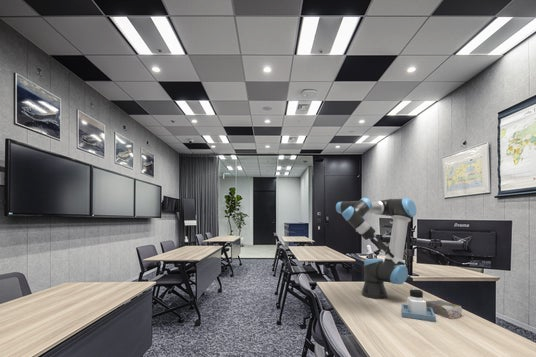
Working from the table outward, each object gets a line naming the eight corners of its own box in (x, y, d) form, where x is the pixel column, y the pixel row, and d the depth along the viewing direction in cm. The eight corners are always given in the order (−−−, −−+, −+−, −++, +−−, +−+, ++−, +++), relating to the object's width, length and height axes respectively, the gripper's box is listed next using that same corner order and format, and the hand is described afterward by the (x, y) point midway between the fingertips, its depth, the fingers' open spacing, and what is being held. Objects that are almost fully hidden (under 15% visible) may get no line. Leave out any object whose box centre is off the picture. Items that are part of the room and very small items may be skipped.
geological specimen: (438, 299, 162) (464, 305, 148) (439, 310, 161) (465, 318, 147) (424, 300, 158) (450, 307, 144) (425, 312, 157) (451, 320, 143)
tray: (401, 308, 159) (401, 303, 159) (432, 312, 153) (432, 307, 153) (402, 317, 145) (401, 312, 146) (435, 322, 139) (435, 316, 140)
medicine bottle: (427, 316, 145) (426, 291, 147) (412, 315, 147) (411, 291, 148) (422, 311, 152) (420, 288, 154) (407, 310, 154) (406, 287, 155)
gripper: (357, 233, 171) (383, 260, 167) (364, 236, 147) (395, 268, 143) (366, 224, 171) (392, 252, 167) (375, 226, 146) (406, 258, 142)
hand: (394, 259), depth 155 cm, fingers open, 13 cm apart
